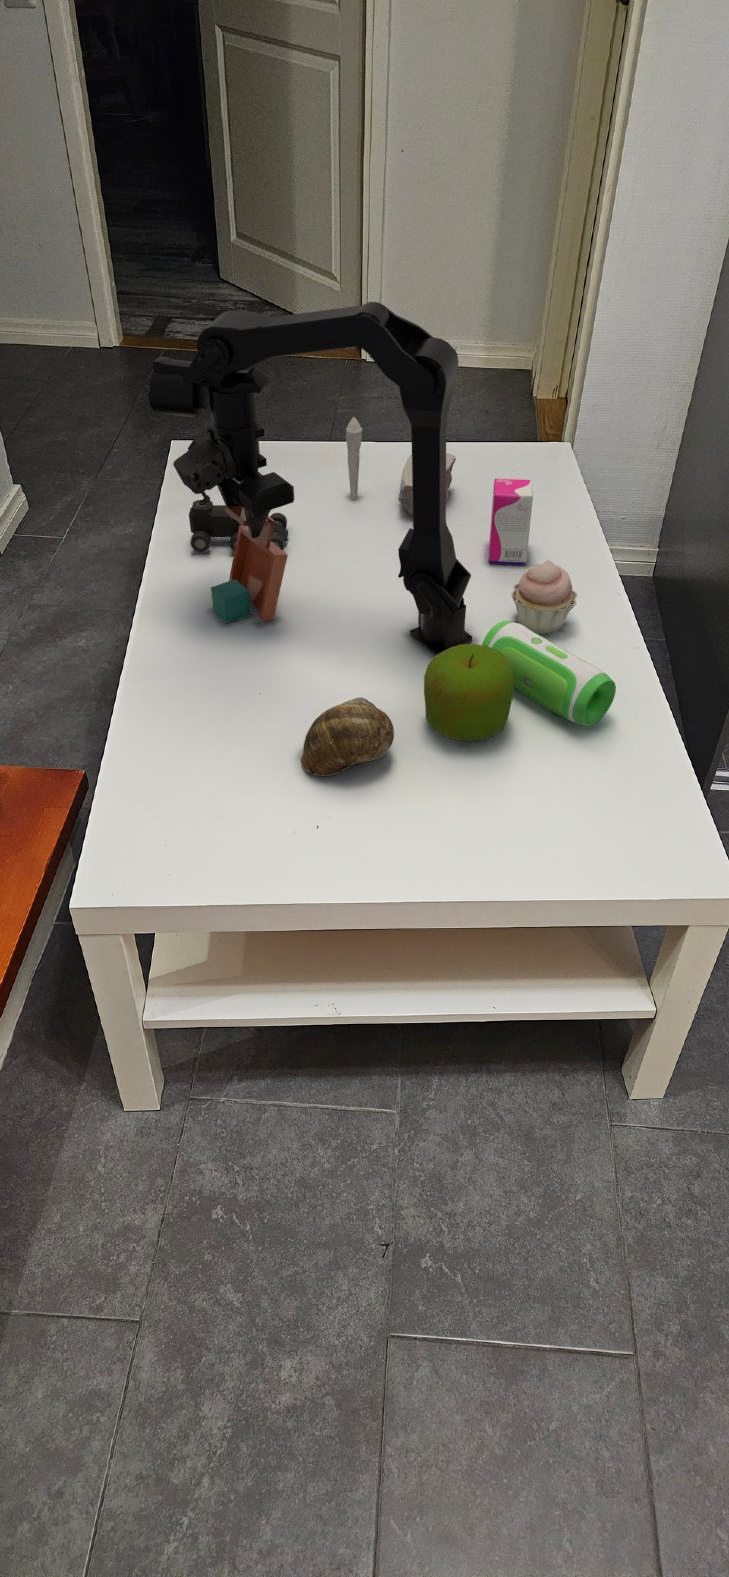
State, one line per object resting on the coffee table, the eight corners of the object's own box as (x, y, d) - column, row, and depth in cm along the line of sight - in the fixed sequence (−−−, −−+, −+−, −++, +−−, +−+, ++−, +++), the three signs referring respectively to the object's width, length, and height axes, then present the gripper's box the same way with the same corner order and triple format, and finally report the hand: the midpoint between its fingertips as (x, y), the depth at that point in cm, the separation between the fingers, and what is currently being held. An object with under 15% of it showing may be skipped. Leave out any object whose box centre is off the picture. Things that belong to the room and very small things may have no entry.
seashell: (390, 732, 135) (391, 680, 129) (396, 781, 128) (397, 729, 123) (300, 735, 134) (297, 684, 129) (301, 785, 127) (298, 733, 122)
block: (224, 600, 150) (226, 624, 153) (249, 591, 152) (251, 615, 154) (210, 587, 152) (213, 611, 155) (235, 578, 154) (237, 602, 157)
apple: (485, 690, 141) (491, 620, 134) (525, 738, 134) (534, 667, 127) (408, 710, 138) (410, 639, 131) (444, 761, 131) (448, 689, 123)
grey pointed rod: (351, 492, 182) (350, 412, 172) (365, 496, 181) (365, 415, 171) (343, 498, 180) (342, 417, 171) (357, 502, 179) (356, 421, 170)
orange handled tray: (293, 528, 146) (253, 528, 142) (273, 620, 153) (234, 622, 150) (257, 499, 152) (217, 498, 148) (239, 589, 160) (200, 590, 156)
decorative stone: (449, 482, 185) (391, 481, 184) (453, 444, 180) (393, 443, 180) (459, 525, 174) (398, 524, 174) (463, 485, 170) (401, 485, 169)
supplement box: (525, 546, 168) (533, 478, 161) (526, 566, 164) (533, 497, 156) (488, 545, 169) (494, 476, 161) (487, 564, 165) (493, 495, 157)
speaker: (474, 676, 143) (478, 629, 138) (511, 655, 147) (517, 608, 142) (576, 739, 134) (584, 691, 129) (613, 715, 137) (623, 667, 132)
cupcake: (569, 604, 156) (578, 543, 149) (577, 641, 149) (587, 579, 143) (504, 604, 156) (511, 543, 150) (510, 641, 149) (517, 578, 143)
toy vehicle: (196, 529, 173) (190, 478, 167) (289, 529, 173) (286, 478, 167) (189, 555, 167) (183, 503, 161) (286, 555, 167) (283, 503, 161)
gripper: (145, 410, 140) (162, 518, 150) (212, 465, 128) (226, 577, 139) (221, 389, 144) (232, 495, 155) (292, 440, 133) (299, 551, 143)
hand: (245, 529), depth 148 cm, fingers closed on orange handled tray, 5 cm apart
